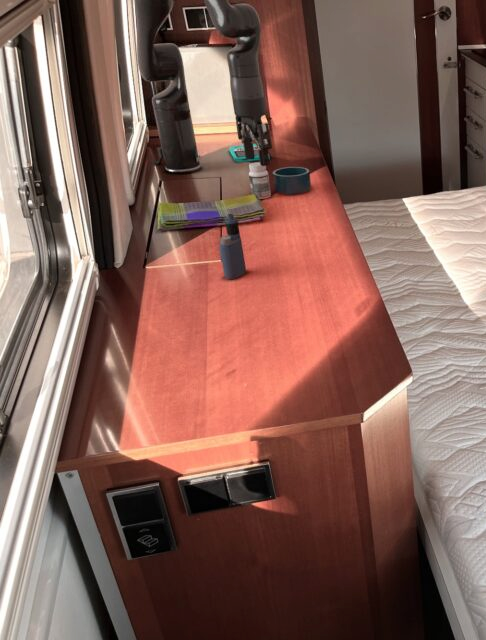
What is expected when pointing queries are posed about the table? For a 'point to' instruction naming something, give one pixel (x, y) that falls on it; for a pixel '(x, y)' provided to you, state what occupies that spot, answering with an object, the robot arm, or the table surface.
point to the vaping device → (232, 250)
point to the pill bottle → (259, 180)
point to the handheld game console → (243, 153)
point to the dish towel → (209, 212)
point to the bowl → (292, 180)
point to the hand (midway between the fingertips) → (257, 161)
